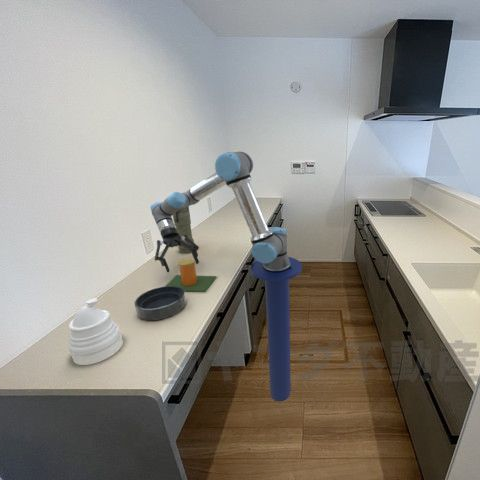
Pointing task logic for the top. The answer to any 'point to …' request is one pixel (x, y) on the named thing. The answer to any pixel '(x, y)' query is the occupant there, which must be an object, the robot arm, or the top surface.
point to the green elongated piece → (183, 226)
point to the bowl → (160, 302)
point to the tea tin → (188, 272)
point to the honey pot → (93, 335)
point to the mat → (200, 286)
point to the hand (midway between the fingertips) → (183, 267)
